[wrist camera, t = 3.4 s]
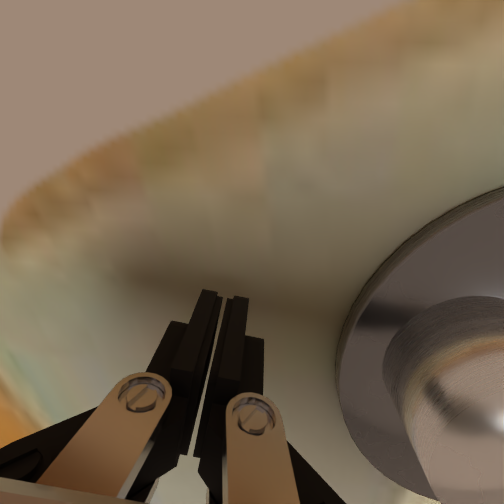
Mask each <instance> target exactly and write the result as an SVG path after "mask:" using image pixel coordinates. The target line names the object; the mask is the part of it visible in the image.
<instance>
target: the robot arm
mask: <svg viewBox="0 0 504 504" xmlns="http://www.w3.org/2000/svg"><path fill="white" fill-rule="evenodd" d="M217 294H218V292H215V291H210V290H205V289H202V292H201V294H200V297H199V299H198V302H197V304H196V307H195V309H194V312H193V314H192V317H191V319H190V322H189V324H186V323H182V322H177V321H171V322H170V324H169V326H168V328H167V330H166V332H165V334H164V336H163V338H162V340H161V342H160V344H159V346H158V348H157V350H156V352H155V354H154V356H153V358H152V360H151V362H150V364H149V366H148V368H147V370H146V372H141V373H135V374H132V375H129V376H127V377H125V378H123V379H122V380H121V381H120V382H118V383H117V384H116V385H115V387H114V388H113V389H112V390H111V391H110V393H109V394H108V395H107V396H106V398H105V399H104V400H103V401H102V402H101V404H100V405H99V406H98V407H95V408H93V409H91V410H88V411H86V412H84V413H81V414H79V415H76V416H74V417H72V418H69V419H67V420H64V421H62V422H60V423H57V424H55V425H53V426H50V427H48V428H45V429H43V430H41V431H38V432H36V433H33V434H31V435H29V436H26V437H24V438H21V439H19V440H17V441H14V442H12V443H10V444H8V445H6V446H5V447H3V448H1V449H0V504H149V503H150V501H151V499H152V497H153V494H154V492H155V490H156V488H157V485H158V482H159V478H160V476H162V475H164V474H165V473H167V472H168V471H170V470H171V469H173V468H174V467H177V463H178V459H179V456H180V454H182V455H187V453H188V449H189V445H190V441H191V437H192V433H193V429H194V425H195V421H196V417H197V413H198V409H199V405H200V401H201V397H202V392H203V388H204V384H205V380H206V376H207V372H208V368H209V364H210V359H211V354H212V349H213V344H214V339H215V334H216V329H217V324H218V319H219V314H220V309H221V304H222V298H223V297H219V296H217ZM248 303H249V298H244V297H239V296H234V298H233V299H229V298H227V302H226V306H225V311H224V315H223V319H222V323H221V328H220V332H219V336H218V340H217V345H216V349H215V353H214V357H213V362H212V366H211V370H210V375H209V380H208V384H207V389H206V394H205V399H204V404H203V409H202V414H201V419H200V424H199V429H198V434H197V439H196V444H195V449H194V454H193V457H198V458H200V463H199V468H198V473H199V475H200V476H201V478H202V479H203V481H204V482H205V484H206V485H207V487H208V488H207V493H206V504H346V503H345V502H344V501H343V500H342V499H341V498H340V497H339V496H338V495H337V493H336V492H335V491H334V490H333V489H332V488H331V487H330V486H329V485H328V484H327V483H326V482H325V481H324V480H323V479H322V477H321V476H320V475H319V474H318V473H317V472H316V471H315V470H314V469H313V468H312V467H311V466H310V465H309V464H308V463H307V461H306V460H305V459H304V458H303V457H302V456H301V455H300V454H299V453H298V452H297V451H296V450H295V449H294V448H293V447H292V445H291V444H290V443H289V442H288V441H287V440H286V436H285V431H284V426H283V421H282V417H281V414H280V412H279V409H278V408H277V407H276V405H275V404H274V403H273V402H272V401H271V400H269V399H268V398H267V397H265V396H263V373H264V339H261V338H256V337H251V336H246V335H245V330H246V321H247V312H248Z"/></svg>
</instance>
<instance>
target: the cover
mask: <svg viewBox="0 0 504 504" xmlns="http://www.w3.org/2000/svg"><path fill="white" fill-rule="evenodd" d="M382 375H383V381H384V384H385V387H386V389H387V391H388V393H389V396H390V398H391V400H392V402H393V404H394V407H395V409H396V411H397V413H398V416H399V418H400V420H401V422H402V424H403V427H404V429H405V431H406V433H407V435H408V438H409V440H410V442H411V444H412V446H413V449H414V451H415V453H416V455H417V457H418V460H419V462H420V464H421V466H422V468H423V471H424V473H425V475H426V477H427V479H428V482H429V484H430V486H431V488H432V490H433V492H434V494H435V496H436V497H437V498H438V500H439V501H440V502H441V503H442V504H504V299H500V298H496V297H489V296H467V297H460V298H455V299H450V300H447V301H444V302H441V303H438V304H436V305H433V306H431V307H429V308H427V309H425V310H423V311H421V312H420V313H418V314H417V315H415V316H414V317H412V318H411V319H410V320H409V321H408V322H406V323H405V324H404V325H403V326H402V327H401V328H400V329H399V330H398V331H397V333H396V334H395V335H394V337H393V338H392V339H391V341H390V343H389V345H388V347H387V349H386V352H385V354H384V358H383V363H382Z"/></svg>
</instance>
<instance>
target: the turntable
mask: <svg viewBox="0 0 504 504" xmlns="http://www.w3.org/2000/svg"><path fill="white" fill-rule="evenodd" d="M467 296H489V297H496V298H500V299H504V187H503V188H501V189H498V190H495V191H492V192H489V193H486V194H484V195H482V196H480V197H478V198H476V199H474V200H472V201H469V202H467V203H465V204H463V205H461V206H459V207H457V208H455V209H453V210H452V211H450V212H448V213H447V214H445V215H443V216H442V217H440V218H439V219H437V220H435V221H434V222H432V223H430V224H429V225H427V226H426V227H425V228H424V229H422V230H421V231H420V232H418V233H417V234H416V235H414V236H413V237H412V238H410V239H409V240H408V241H407V242H405V243H404V244H403V245H402V246H401V247H400V248H399V249H398V250H397V251H396V252H395V253H394V254H393V255H392V256H391V257H389V258H388V259H387V260H386V261H385V262H384V263H383V265H382V266H381V267H380V268H379V269H378V271H377V272H376V273H375V274H374V275H373V277H372V278H371V279H370V280H369V281H368V283H367V284H366V286H365V287H364V289H363V290H362V292H361V293H360V295H359V297H358V298H357V300H356V301H355V303H354V305H353V307H352V309H351V311H350V313H349V315H348V318H347V320H346V322H345V324H344V327H343V330H342V333H341V337H340V340H339V344H338V348H337V356H336V364H335V372H336V387H337V392H338V396H339V401H340V405H341V409H342V413H343V416H344V420H345V423H346V425H347V427H348V430H349V432H350V435H351V437H352V439H353V440H354V442H355V443H356V445H357V447H358V448H359V450H360V451H361V453H362V454H363V455H364V456H365V457H366V458H367V459H368V461H369V462H370V463H371V464H372V465H373V466H374V467H375V468H377V469H378V470H379V471H380V472H381V473H382V474H384V475H385V476H386V477H388V478H389V479H391V480H392V481H394V482H396V483H397V484H399V485H400V486H402V487H404V488H406V489H408V490H411V491H413V492H415V493H417V494H419V495H422V496H425V497H428V498H431V499H434V500H437V501H439V500H438V498H437V497H436V496H435V494H434V492H433V490H432V488H431V486H430V484H429V482H428V479H427V477H426V475H425V473H424V471H423V468H422V466H421V464H420V462H419V460H418V457H417V455H416V453H415V451H414V449H413V446H412V444H411V442H410V440H409V438H408V435H407V433H406V431H405V429H404V427H403V424H402V422H401V420H400V418H399V416H398V413H397V411H396V409H395V407H394V404H393V402H392V400H391V398H390V396H389V393H388V391H387V389H386V387H385V384H384V381H383V375H382V363H383V358H384V354H385V352H386V349H387V347H388V345H389V343H390V341H391V339H392V338H393V337H394V335H395V334H396V333H397V331H398V330H399V329H400V328H401V327H402V326H403V325H404V324H405V323H406V322H408V321H409V320H410V319H411V318H412V317H414V316H415V315H417V314H418V313H420V312H421V311H423V310H425V309H427V308H429V307H431V306H433V305H436V304H438V303H441V302H444V301H447V300H450V299H455V298H460V297H467Z"/></svg>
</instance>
